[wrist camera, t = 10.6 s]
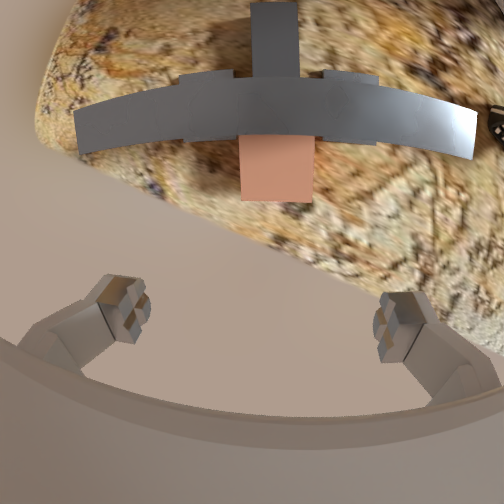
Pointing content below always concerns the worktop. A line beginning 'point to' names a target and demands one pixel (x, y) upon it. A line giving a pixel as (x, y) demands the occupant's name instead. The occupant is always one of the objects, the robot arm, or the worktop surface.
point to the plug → (276, 146)
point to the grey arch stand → (278, 113)
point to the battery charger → (497, 123)
